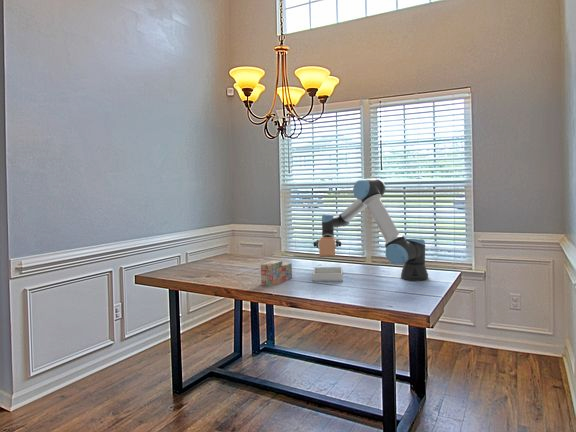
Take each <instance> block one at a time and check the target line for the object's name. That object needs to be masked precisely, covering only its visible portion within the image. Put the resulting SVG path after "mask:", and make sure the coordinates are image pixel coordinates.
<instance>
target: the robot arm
mask: <svg viewBox="0 0 576 432" xmlns="http://www.w3.org/2000/svg"><path fill="white" fill-rule="evenodd" d="M385 193H386V185H385V182H384V181H383V180H381V179H379V178H362V179H358V180H357V181H355V183H354V185H353V188H352V194H353V196H354V197H355V201H353V202H352V203H351V204H349V206H348V207H346V209H345V210H343V211H342V212H341V213H340V214H338V215H334V214H333V213H324V214H322V215H321V230H322V231H321V237H335V235H334V233H335V232H334V229H335V228H341V227H346V226H348V225H350V222H351V221H352V220H353V218H355V217H356V216H357V215H359V213H361V212H362V211H363V210H364V209H366V208H367V209H368V211H369V212H370V214H371V217H372V218H373V220H374V222H375V224H376V226H377V228H378V230H379V231H380V233H381V235H382V237H383V239H384V241H385V244H384V247H385V252H384V253H385V257H386V259H387V261H388V262H389V263H390V264H393V265H397V266H399V265H403V266H402V270H401V272H400V278H401V279H403V280H406V281H418V282H419V281H426V280H428V279H429V272H428V270H427V266H426V241H425V240H424V239H423V238H417V237H416V238H414V237H405V236H404V235H402V234H401V235H400V232H399V231H398V229H397V227H396V225H395V224H394V222H393V220H392V218H391V216H390V214H389V212H388V211H387V209H386V207H385V204H384V203H383V201H382V199H381V198H382V197H383V196H384V195H385ZM313 247H316V249H318V250H319V239H316V240H315V241H313ZM338 247H342V242H341V241H340V240H339V239H335V250H336V249H337V248H338Z"/></svg>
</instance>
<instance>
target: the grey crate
mask: <svg viewBox="0 0 576 432" xmlns="http://www.w3.org/2000/svg"><path fill="white" fill-rule="evenodd" d="M343 277H344V276H343V267H342V266H331V267H330V266H328V267H327V266H325V267H323V266H317V267H316V266H314V267H313V271H312V282H316V283H317V282H344V281H343Z"/></svg>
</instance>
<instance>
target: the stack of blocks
mask: <svg viewBox="0 0 576 432" xmlns="http://www.w3.org/2000/svg"><path fill="white" fill-rule="evenodd" d="M292 267H293V266H292V262H283V260H276V259H273V260H270V261H267V262H264V263H260V279H261V280H260V284H261V286H265V287H271V286H275V285H277V284H281V283H284V282H285V281H289V280H290V279H293V268H292Z"/></svg>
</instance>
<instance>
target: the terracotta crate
mask: <svg viewBox="0 0 576 432" xmlns="http://www.w3.org/2000/svg"><path fill="white" fill-rule="evenodd" d="M335 238H336V237H335V236H334V237H322V236H321V237H319V239H318V240H319V249H318V250H319V253H318V255H319V256H318V257H320V258H322V257H323V258H325V257H326V258H327V257H328V258H329V257H331V258H332V257H333V258H334V257H336V249H335V241H336V239H335Z"/></svg>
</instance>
